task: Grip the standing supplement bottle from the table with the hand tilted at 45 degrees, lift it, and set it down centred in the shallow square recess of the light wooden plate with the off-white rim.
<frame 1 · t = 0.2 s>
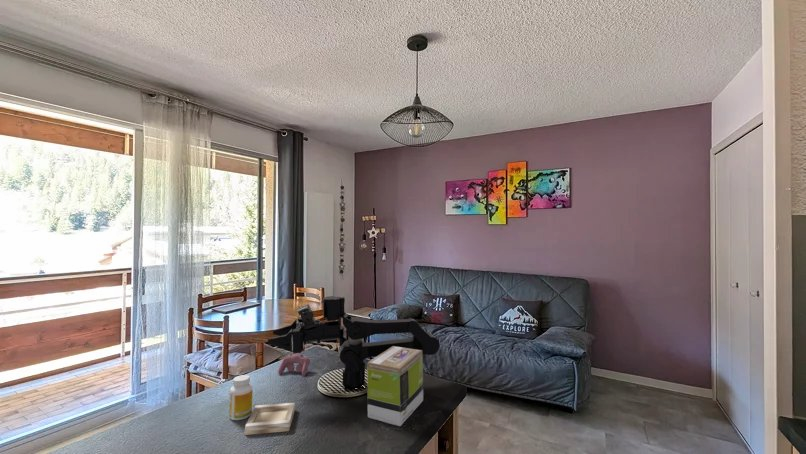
hand: (270, 336, 101), 17 cm above the countertop, tool horizontal, fingers open, 9 cm apart
recess plate: (271, 421, 85), on the countertop
supplement bottle: (240, 416, 88), on the countertop
pink legged piece: (294, 373, 116), on the countertop
tea box: (396, 410, 92), on the countertop
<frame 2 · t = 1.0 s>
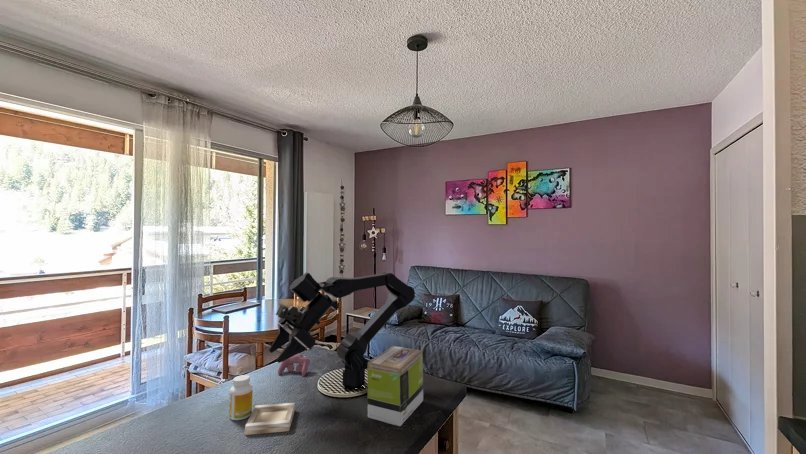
hand: (273, 356, 93), 14 cm above the countertop, tool tilted 45°, fingers open, 9 cm apart
nothing on the countertop moved.
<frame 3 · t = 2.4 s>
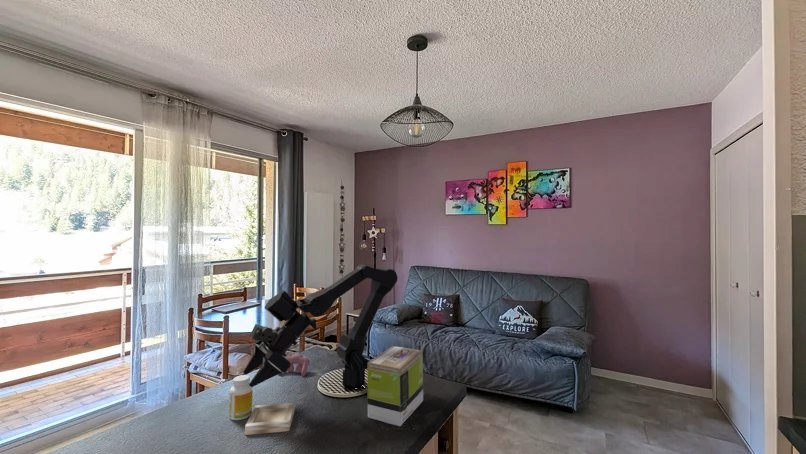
hand: (247, 379, 89), 9 cm above the countertop, tool tilted 45°, fingers open, 9 cm apart
nothing on the countertop moved.
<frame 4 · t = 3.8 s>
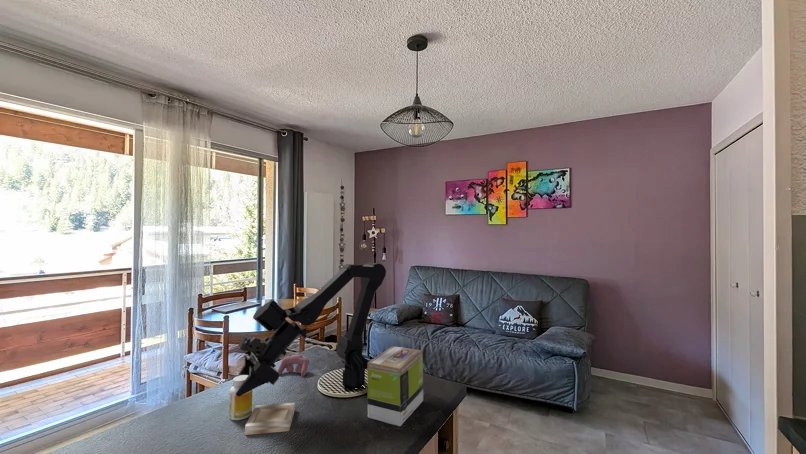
hand: (235, 391, 87), 7 cm above the countertop, tool tilted 45°, fingers closed on supplement bottle, 5 cm apart
supplement bottle: (240, 416, 88), on the countertop, touching gripper
everything else where it was.
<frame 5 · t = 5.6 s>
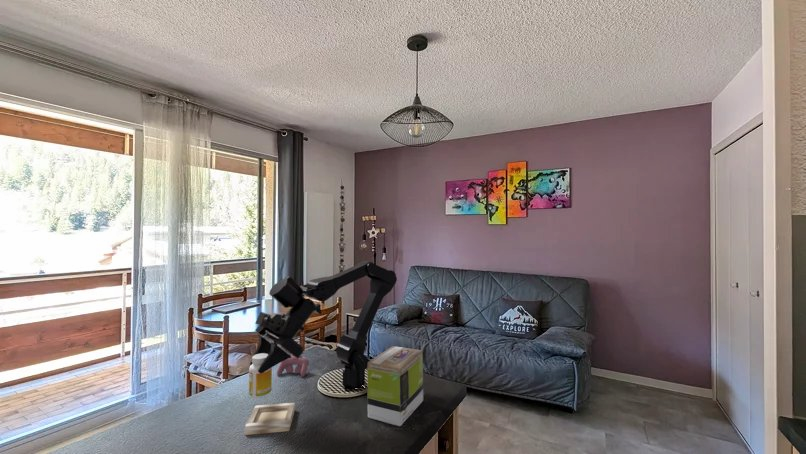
hand: (255, 369, 85), 13 cm above the countertop, tool tilted 45°, fingers closed on supplement bottle, 5 cm apart
supplement bottle: (260, 394, 86), point 6 cm above the countertop, touching gripper
when the fingers open (9 cm above the countertop, at t = 7.3 s): supplement bottle stays where it is, resting on recess plate.
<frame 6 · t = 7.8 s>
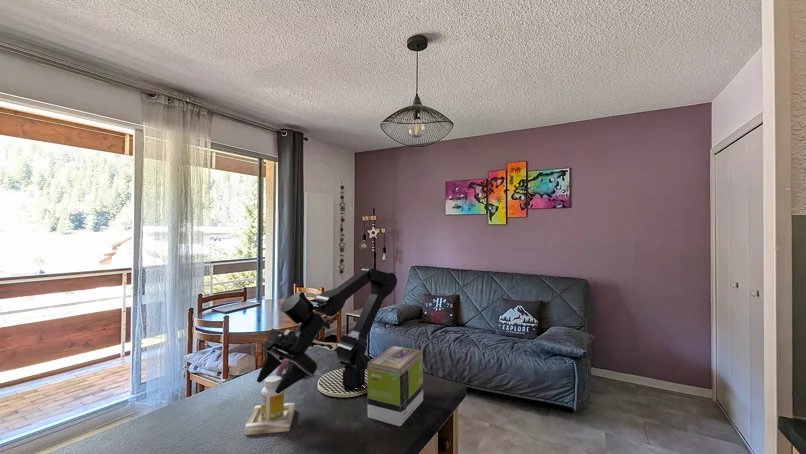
hand: (267, 387, 84), 9 cm above the countertop, tool tilted 45°, fingers open, 9 cm apart
supplement bottle: (272, 418, 85), point 1 cm above the countertop, touching recess plate
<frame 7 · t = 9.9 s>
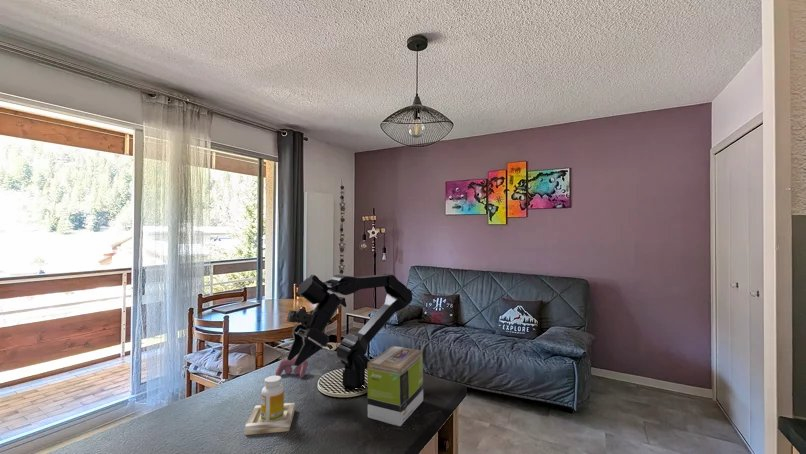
hand: (291, 362, 93), 12 cm above the countertop, tool tilted 40°, fingers open, 9 cm apart
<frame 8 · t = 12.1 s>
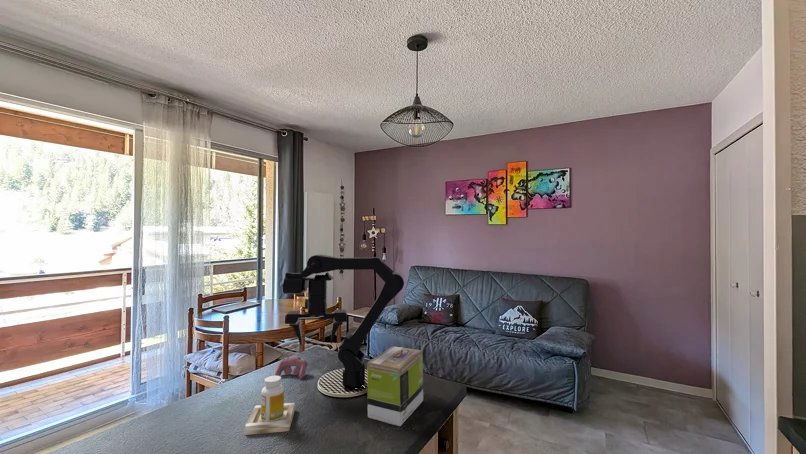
hand: (316, 343, 106), 13 cm above the countertop, tool pointing down, fingers open, 9 cm apart
at the end: supplement bottle 0.2 cm off-centre on the recess plate, point 0.8 cm above the recess plate's base; supplement bottle tilted 0°; the gripper is holding nothing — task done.
